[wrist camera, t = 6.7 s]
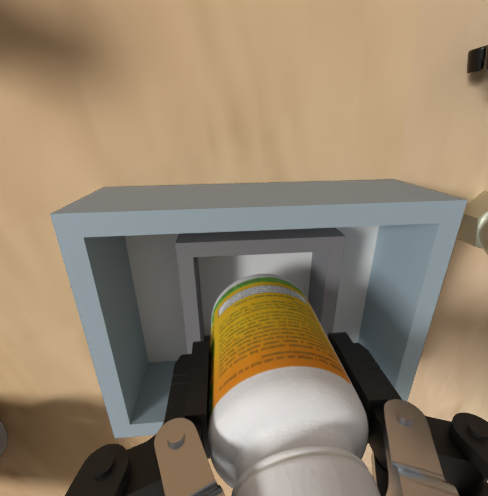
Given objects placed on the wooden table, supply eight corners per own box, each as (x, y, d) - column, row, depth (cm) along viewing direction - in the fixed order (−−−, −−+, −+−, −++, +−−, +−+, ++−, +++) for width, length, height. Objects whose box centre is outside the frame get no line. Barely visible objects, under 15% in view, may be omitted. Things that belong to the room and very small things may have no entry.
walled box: (103, 187, 16) (50, 213, 11) (393, 179, 17) (467, 199, 12) (139, 363, 21) (114, 438, 16) (361, 347, 22) (404, 412, 17)
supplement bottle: (193, 297, 15) (155, 549, 6) (286, 254, 14) (400, 459, 5) (237, 364, 17) (259, 627, 8) (320, 329, 16) (443, 567, 7)
